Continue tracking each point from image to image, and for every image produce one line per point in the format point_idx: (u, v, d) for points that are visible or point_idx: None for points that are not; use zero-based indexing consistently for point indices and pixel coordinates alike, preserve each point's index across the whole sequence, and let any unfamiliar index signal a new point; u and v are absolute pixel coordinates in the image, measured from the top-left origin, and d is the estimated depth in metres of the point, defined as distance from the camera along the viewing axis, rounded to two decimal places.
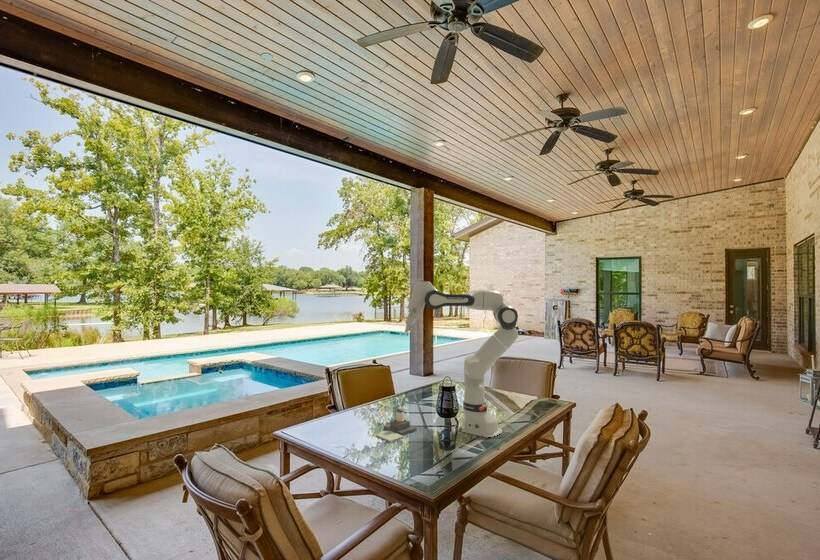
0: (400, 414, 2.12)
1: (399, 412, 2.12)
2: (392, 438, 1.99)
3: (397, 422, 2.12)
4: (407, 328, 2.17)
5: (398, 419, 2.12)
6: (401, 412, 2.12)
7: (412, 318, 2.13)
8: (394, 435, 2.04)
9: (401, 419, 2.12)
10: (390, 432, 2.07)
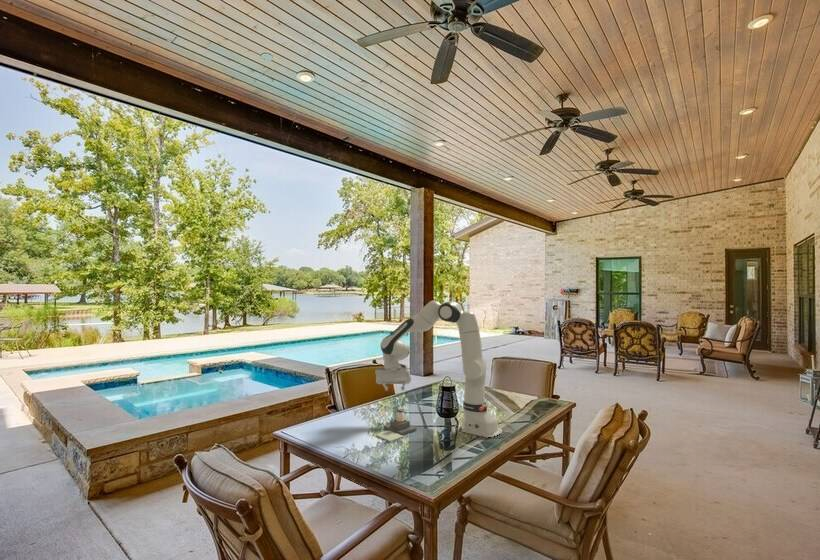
0: (400, 414, 2.12)
1: (399, 412, 2.12)
2: (392, 438, 1.99)
3: (397, 422, 2.12)
4: (384, 386, 2.26)
5: (398, 419, 2.12)
6: (401, 412, 2.12)
7: (376, 375, 2.28)
8: (394, 435, 2.04)
9: (401, 419, 2.12)
10: (390, 432, 2.07)
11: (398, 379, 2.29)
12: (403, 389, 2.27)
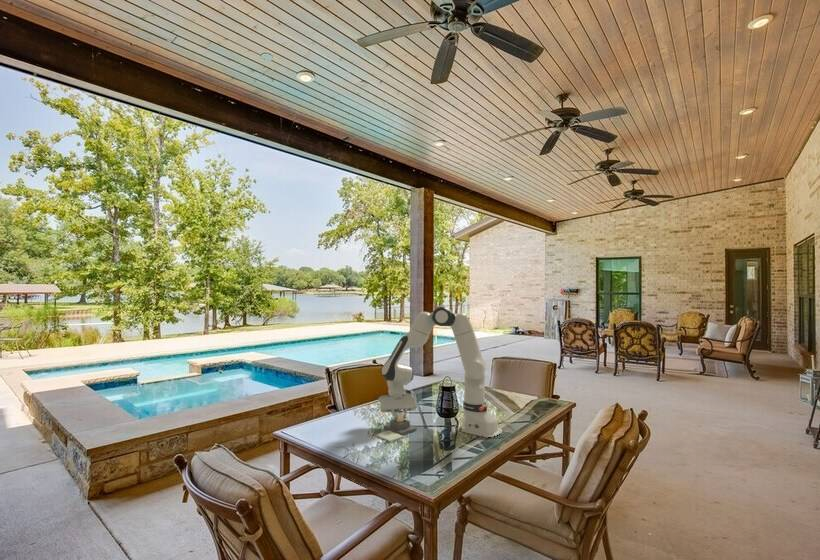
0: (400, 414, 2.12)
1: (399, 412, 2.12)
2: (392, 438, 1.99)
3: (397, 422, 2.12)
4: (393, 414, 2.14)
5: (398, 419, 2.12)
6: (401, 412, 2.12)
7: (380, 403, 2.16)
8: (394, 435, 2.04)
9: (401, 419, 2.12)
10: (390, 432, 2.07)
11: (403, 406, 2.17)
12: (405, 417, 2.14)
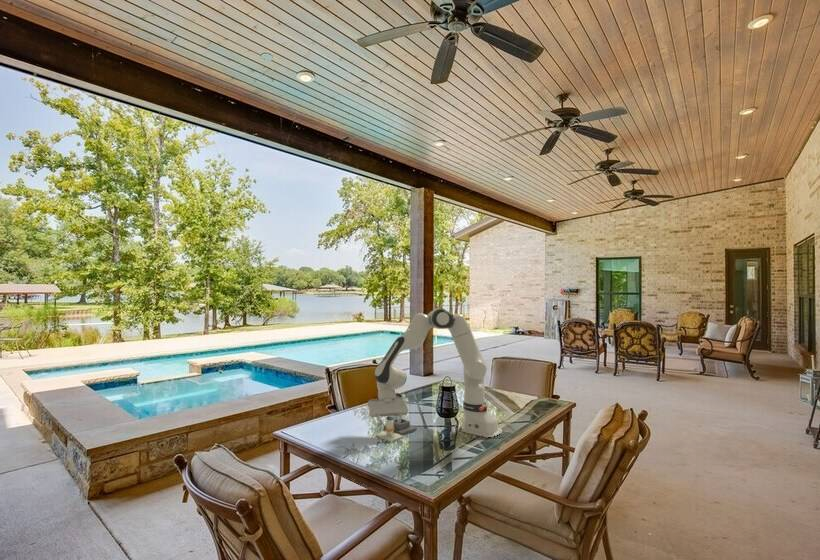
0: (390, 422, 2.02)
1: (389, 420, 2.02)
2: (392, 438, 1.99)
3: (387, 430, 2.02)
4: (378, 419, 2.03)
5: (388, 427, 2.02)
6: (391, 420, 2.02)
7: (369, 407, 2.06)
8: (394, 435, 2.04)
9: (391, 427, 2.02)
10: None
11: (393, 411, 2.06)
12: (399, 422, 2.04)
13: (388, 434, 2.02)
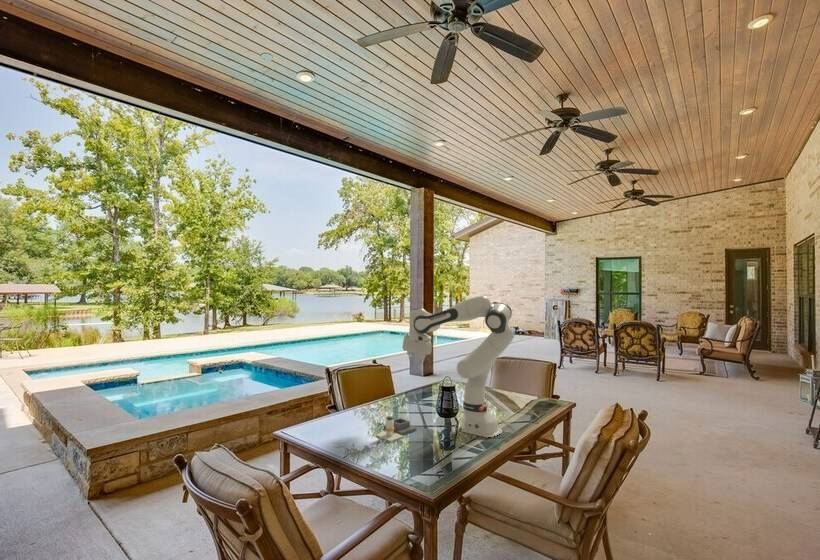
0: (390, 422, 2.02)
1: (389, 420, 2.02)
2: (392, 438, 1.99)
3: (387, 430, 2.02)
4: None
5: (388, 427, 2.02)
6: (391, 420, 2.02)
7: None
8: (394, 435, 2.04)
9: (391, 427, 2.02)
10: None
11: (417, 351, 2.27)
12: (422, 361, 2.26)
13: (388, 434, 2.02)
